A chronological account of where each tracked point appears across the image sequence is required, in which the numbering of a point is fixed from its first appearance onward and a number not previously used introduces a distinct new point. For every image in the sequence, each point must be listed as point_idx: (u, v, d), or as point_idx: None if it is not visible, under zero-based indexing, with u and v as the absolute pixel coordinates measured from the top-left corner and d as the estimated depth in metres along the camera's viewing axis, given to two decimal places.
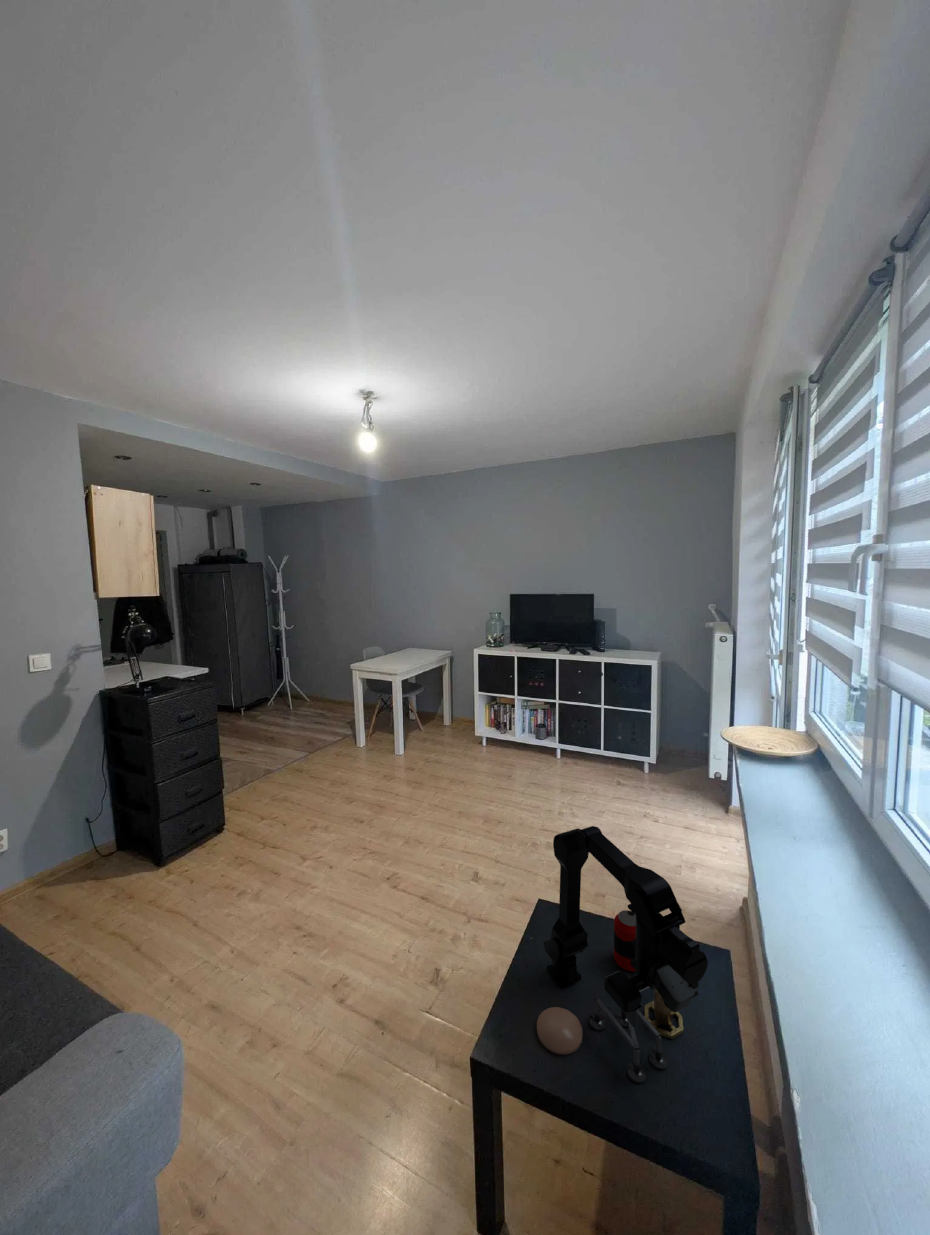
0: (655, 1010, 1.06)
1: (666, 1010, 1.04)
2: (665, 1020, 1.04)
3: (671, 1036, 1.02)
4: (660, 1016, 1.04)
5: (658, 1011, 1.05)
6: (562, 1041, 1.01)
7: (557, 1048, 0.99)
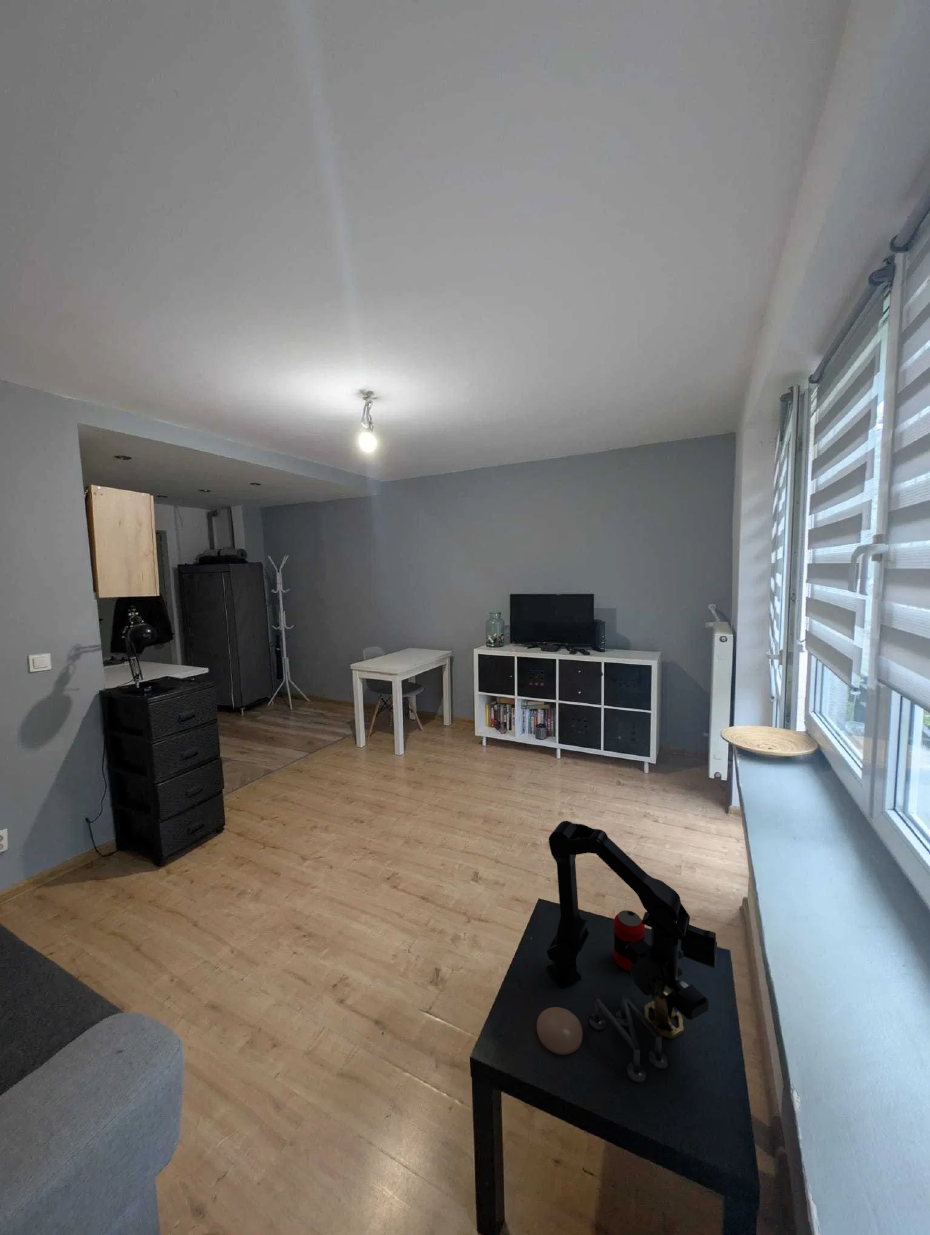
0: (655, 1010, 1.06)
1: (666, 1010, 1.04)
2: (665, 1020, 1.04)
3: (671, 1036, 1.02)
4: (660, 1016, 1.04)
5: (658, 1011, 1.05)
6: (562, 1041, 1.01)
7: (557, 1048, 0.99)
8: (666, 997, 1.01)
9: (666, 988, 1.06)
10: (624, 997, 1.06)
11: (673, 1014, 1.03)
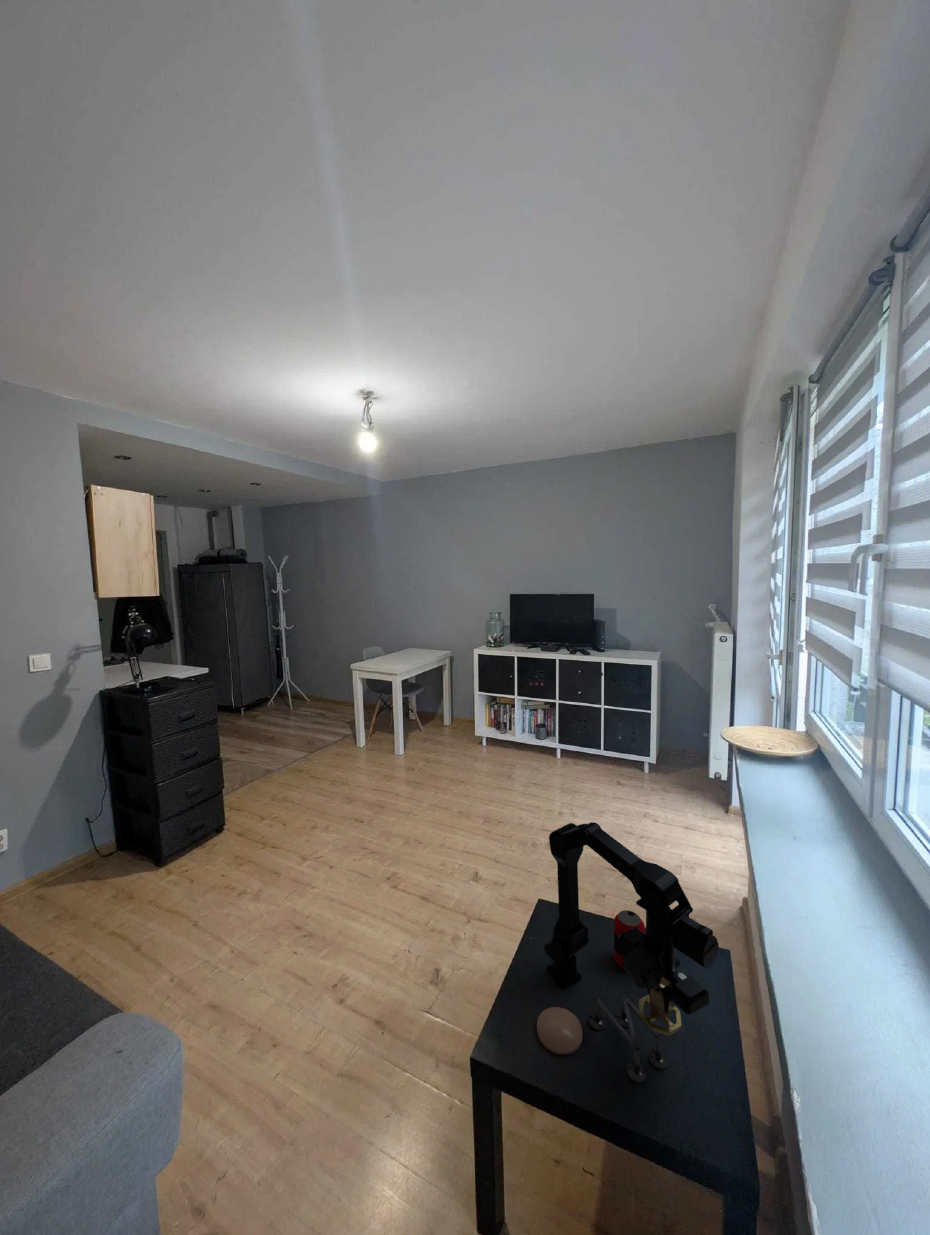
0: (650, 1004, 0.96)
1: (663, 1004, 0.95)
2: (661, 1015, 0.95)
3: (668, 1033, 0.93)
4: (656, 1011, 0.95)
5: (654, 1005, 0.95)
6: (562, 1041, 1.01)
7: (557, 1048, 0.99)
8: (662, 990, 0.92)
9: (662, 980, 0.97)
10: (624, 997, 1.06)
11: (669, 1009, 0.94)
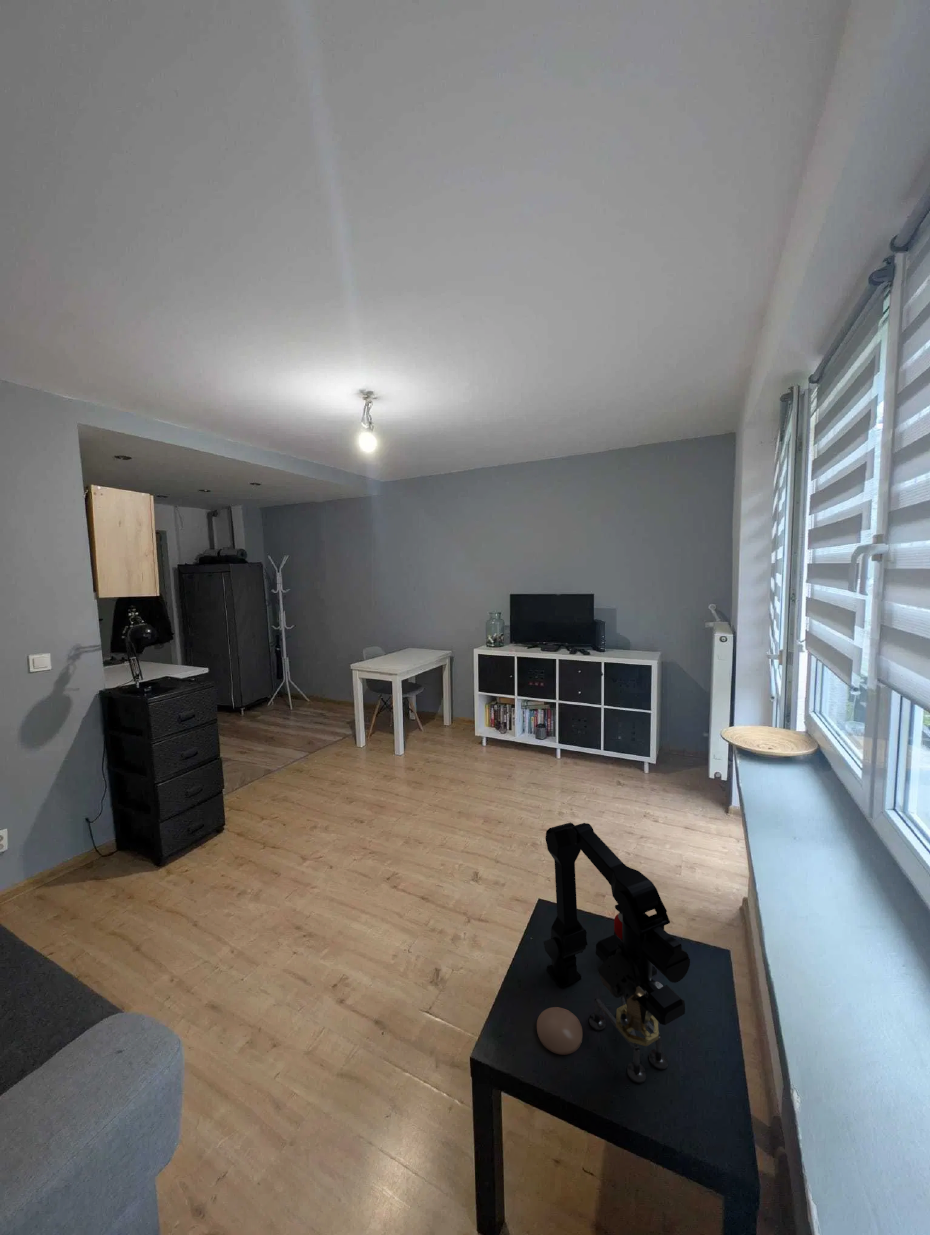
0: (627, 1014, 0.94)
1: (639, 1013, 0.92)
2: (638, 1025, 0.93)
3: (644, 1043, 0.91)
4: (633, 1020, 0.93)
5: (630, 1014, 0.93)
6: (562, 1041, 1.01)
7: (557, 1048, 0.99)
8: (638, 999, 0.90)
9: (640, 989, 0.95)
10: None
11: (646, 1019, 0.92)
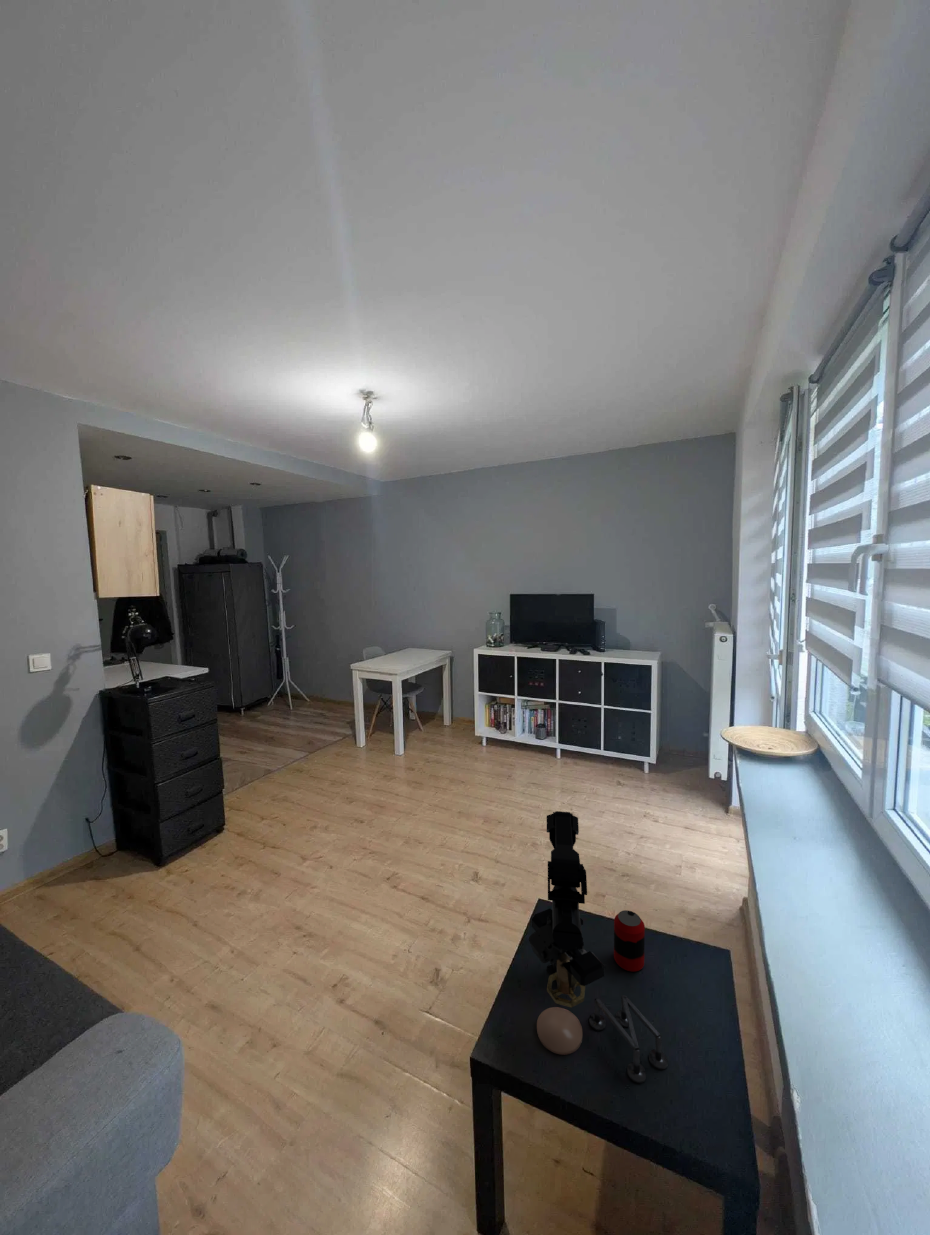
0: (557, 979, 1.03)
1: (567, 978, 1.01)
2: (566, 989, 1.01)
3: (570, 1005, 0.99)
4: (561, 985, 1.02)
5: (559, 979, 1.02)
6: (562, 1041, 1.01)
7: (557, 1048, 0.99)
8: (564, 965, 0.99)
9: None
10: (624, 997, 1.06)
11: (573, 983, 1.00)
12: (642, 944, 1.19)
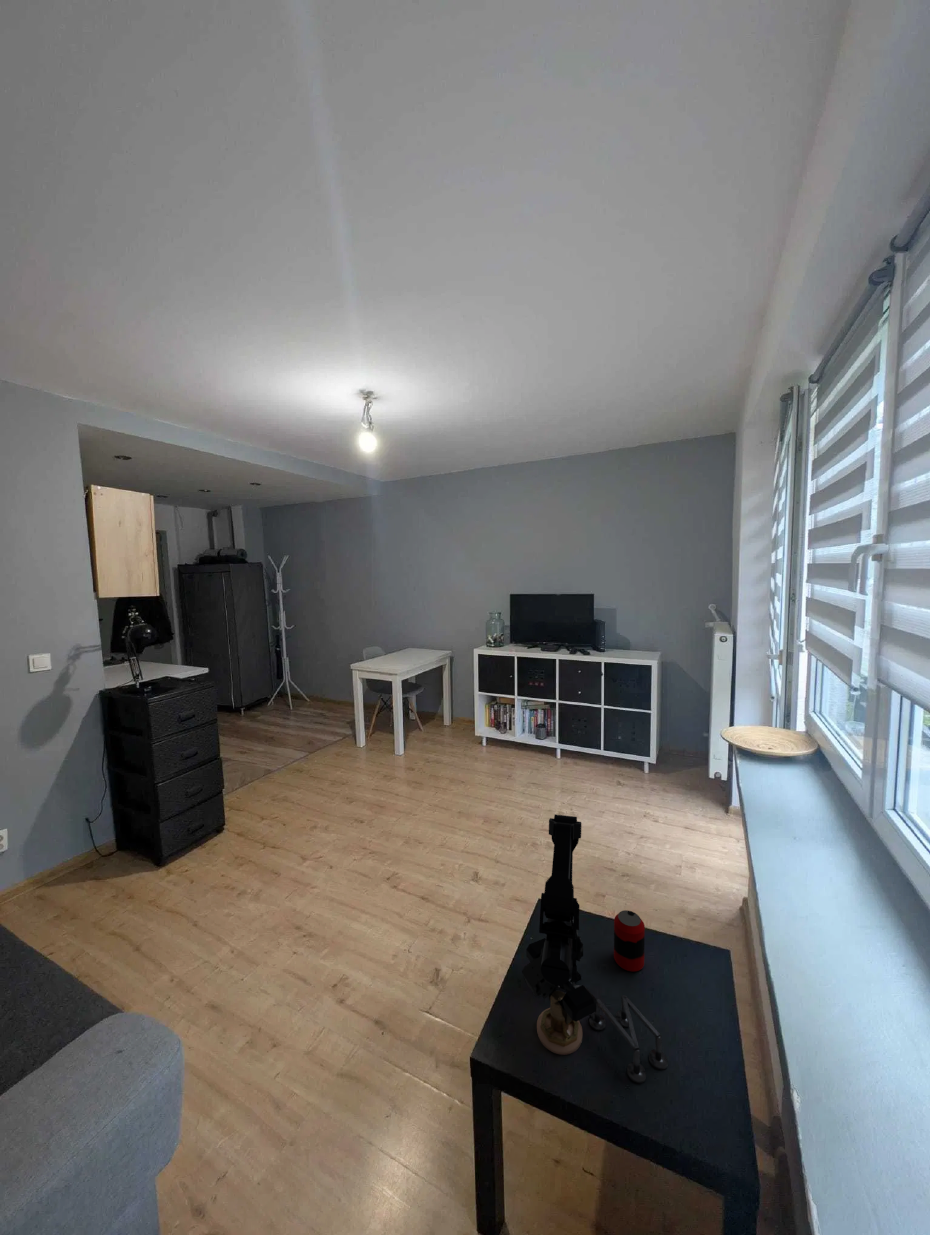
0: None
1: (560, 1017, 1.02)
2: (559, 1027, 1.02)
3: (563, 1044, 1.00)
4: (554, 1023, 1.02)
5: (553, 1018, 1.03)
6: None
7: (557, 1048, 0.99)
8: (560, 1001, 0.98)
9: (563, 994, 1.04)
10: (624, 997, 1.06)
11: (568, 1019, 1.00)
12: (642, 944, 1.19)
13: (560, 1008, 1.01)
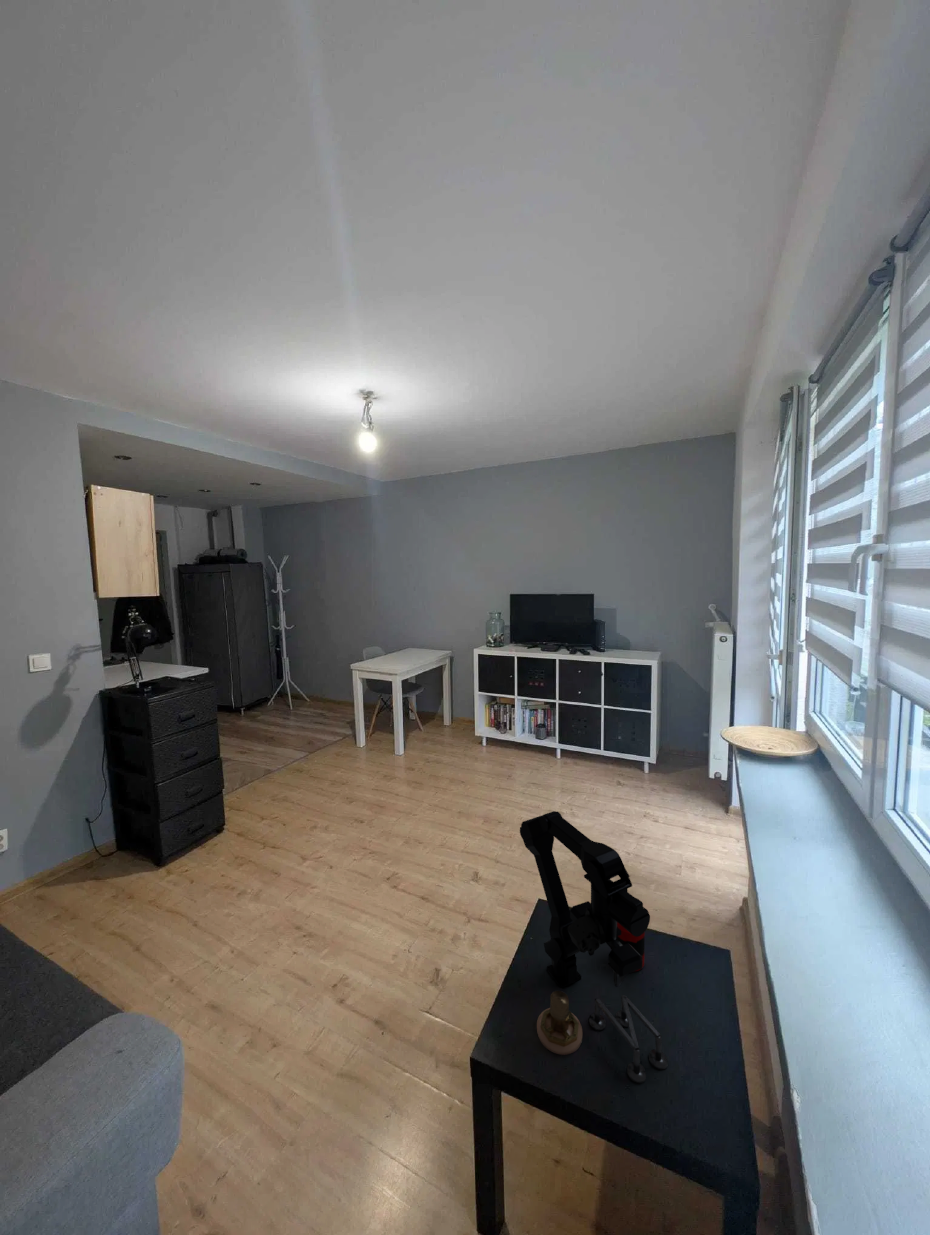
0: None
1: (560, 1017, 1.02)
2: (559, 1027, 1.02)
3: (563, 1044, 1.00)
4: (554, 1023, 1.02)
5: (553, 1018, 1.03)
6: None
7: (557, 1048, 0.99)
8: (610, 964, 0.99)
9: (563, 994, 1.04)
10: (624, 997, 1.06)
11: (618, 982, 1.01)
12: (642, 944, 1.19)
13: (560, 1008, 1.01)
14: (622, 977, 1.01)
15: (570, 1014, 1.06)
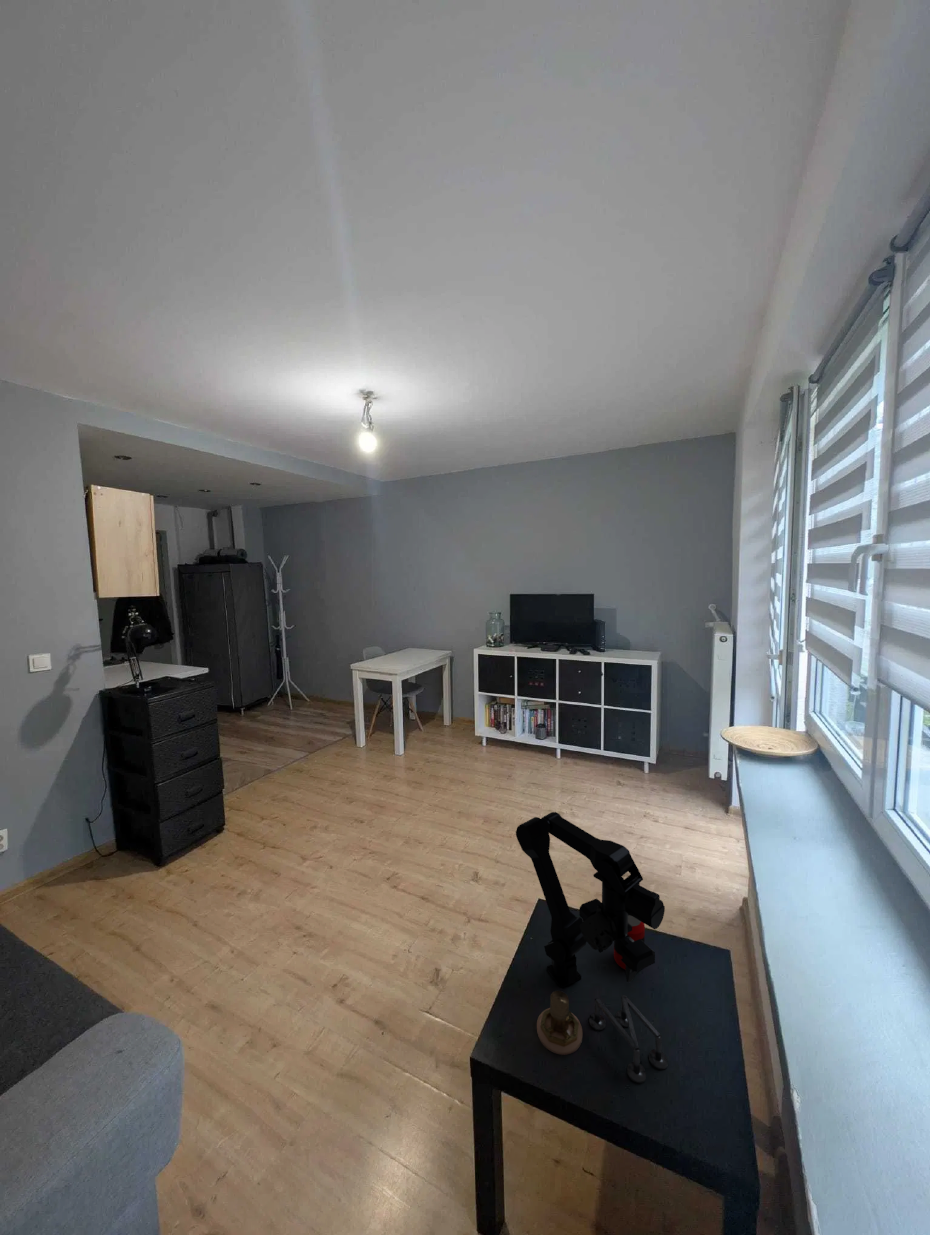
0: None
1: (560, 1017, 1.02)
2: (559, 1027, 1.02)
3: (563, 1044, 1.00)
4: (554, 1023, 1.02)
5: (553, 1018, 1.03)
6: None
7: (557, 1048, 0.99)
8: (623, 960, 1.00)
9: (563, 994, 1.04)
10: (624, 997, 1.06)
11: (630, 978, 1.02)
12: None
13: (560, 1008, 1.01)
14: (634, 972, 1.02)
15: (570, 1014, 1.06)
